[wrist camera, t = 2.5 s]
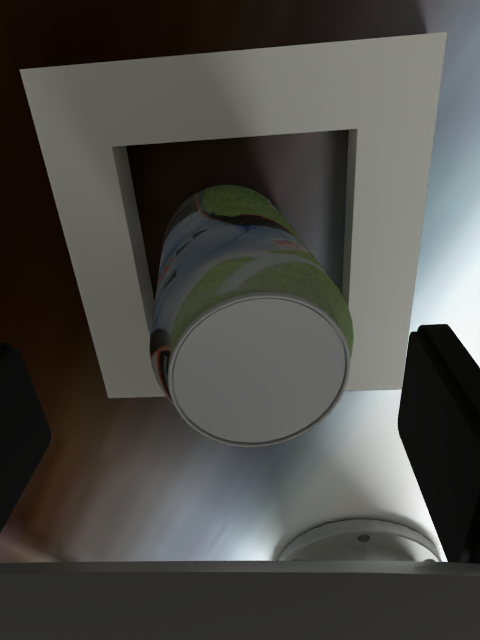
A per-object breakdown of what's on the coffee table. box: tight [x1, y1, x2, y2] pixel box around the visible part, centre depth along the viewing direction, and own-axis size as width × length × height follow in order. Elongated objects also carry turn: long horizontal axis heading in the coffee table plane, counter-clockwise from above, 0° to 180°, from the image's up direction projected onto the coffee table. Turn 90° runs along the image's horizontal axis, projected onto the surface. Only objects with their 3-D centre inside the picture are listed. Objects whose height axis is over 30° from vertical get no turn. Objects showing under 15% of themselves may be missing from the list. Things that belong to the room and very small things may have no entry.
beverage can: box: [149, 185, 354, 447], centre depth 17 cm, size 6×7×12 cm
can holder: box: [20, 32, 447, 398], centre depth 21 cm, size 16×16×2 cm
